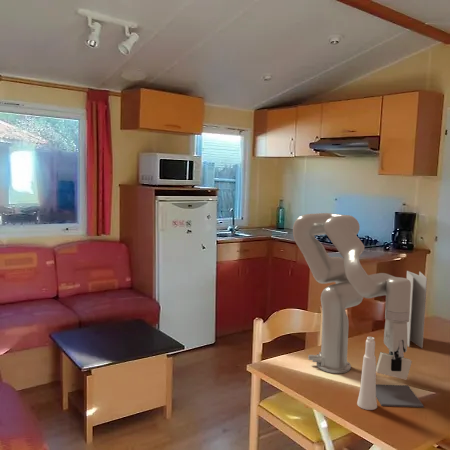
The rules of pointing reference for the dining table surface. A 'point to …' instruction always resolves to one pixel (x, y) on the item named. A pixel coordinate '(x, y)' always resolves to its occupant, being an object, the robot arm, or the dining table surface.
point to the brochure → (416, 308)
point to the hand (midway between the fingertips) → (394, 369)
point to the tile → (385, 366)
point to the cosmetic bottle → (368, 378)
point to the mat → (397, 396)
